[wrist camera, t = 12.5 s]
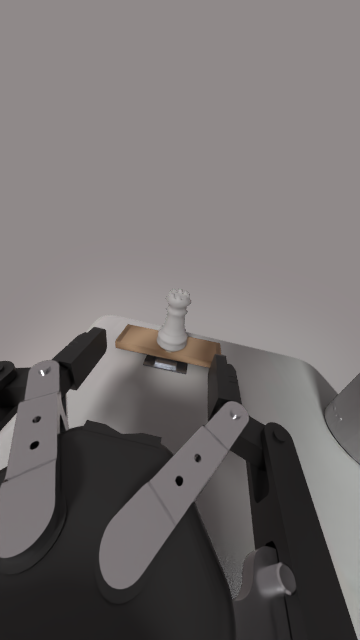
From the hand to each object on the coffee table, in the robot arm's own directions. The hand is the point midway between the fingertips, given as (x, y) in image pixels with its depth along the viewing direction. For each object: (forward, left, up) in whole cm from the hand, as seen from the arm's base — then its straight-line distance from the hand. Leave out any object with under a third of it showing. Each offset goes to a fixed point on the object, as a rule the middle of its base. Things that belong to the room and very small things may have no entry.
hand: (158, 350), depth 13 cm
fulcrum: (+5, -10, -10) cm, 15 cm away
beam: (+5, -10, -8) cm, 14 cm away
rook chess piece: (+5, -10, -8) cm, 14 cm away
